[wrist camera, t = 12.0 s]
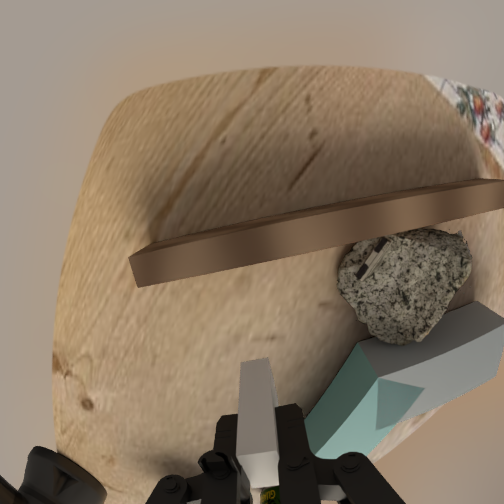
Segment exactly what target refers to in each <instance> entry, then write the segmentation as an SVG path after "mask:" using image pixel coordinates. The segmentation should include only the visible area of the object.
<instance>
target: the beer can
mask: <svg viewBox="0 0 504 504" xmlns="http://www.w3.org/2000/svg"><path fill="white" fill-rule="evenodd" d="M260 504H281V502H280V490H279V485H277V486H269V487H265V488H264V489H263V491H262V492H261V494H260Z"/></svg>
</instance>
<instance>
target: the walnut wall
mask: <svg viewBox="0 0 504 504" xmlns="http://www.w3.org/2000/svg"><path fill="white" fill-rule="evenodd" d="M501 208H504V180H499V179H481V178H480V179H473V180H466V181H460V182H453V183H447V184H440V185H434V186H428V187H422V188H416V189H410V190H404V191H398V192H393V193H387V194H381V195H376V196H370V197H365V198H360V199H354V200H349V201H344V202H339V203H333V204H328V205H323V206H318V207H313V208H308V209H303V210H298V211H294V212H289V213H284V214H279V215H274V216H270V217H265V218H260V219H256V220H251V221H247V222H242V223H238V224H233V225H229V226H224V227H220V228H215V229H211V230H207V231H202V232H198V233H194V234H190V235H185V236H181V237H177V238H173V239H169V240H165V241H161V242H157V243H153V244H150V245H148V246H146V247H144V248H143V249H141V250H139V251H138V252H136V253H134V254H133V255H131V256H129V257H128V258H129V262H130V265H131V268H132V271H133V275H134V278H135V281H136V284H137V287H138V288H139V287H144V286H150V285H155V284H160V283H165V282H170V281H175V280H180V279H185V278H189V277H194V276H199V275H204V274H209V273H214V272H219V271H224V270H229V269H233V268H238V267H243V266H248V265H253V264H257V263H262V262H267V261H271V260H276V259H281V258H286V257H290V256H295V255H300V254H304V253H309V252H313V251H318V250H323V249H327V248H332V247H336V246H341V245H345V244H350V243H354V242H359V241H363V240H368V239H372V238H377V237H381V236H386V235H390V234H395V233H399V232H403V231H408V230H412V229H416V228H421V227H425V226H429V225H434V224H438V223H442V222H447V221H451V220H455V219H459V218H464V217H468V216H472V215H476V214H480V213H484V212H489V211H493V210H497V209H501Z"/></svg>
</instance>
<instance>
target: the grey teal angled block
mask: <svg viewBox="0 0 504 504" xmlns="http://www.w3.org/2000/svg"><path fill="white" fill-rule="evenodd" d="M376 341H377V343H376ZM503 347H504V318H503V317H501V316H500V315H498V314H497V313H495V312H494V311H492V310H490V309H489V308H487V307H486V306H484V305H483V304H481V303H480V302H478V301H475V302H473V303H471V304H468V305H466V306H463V307H461V308H458V309H456V310H453V311H451V312H448V313H446V314H443V315H442V318H441V319H440V320H439V321H438V323H437V324H435V326H434V327H433V328H432V329H431V331H430V332H429V335H426V336H425V337H424V338H423V340H422V341H421V342H416V341H415V340H413V341H412V342H411V343H409V344H406V345H404V346H400V345H397V344H390V343H386V342H384V341H381V340H379V339H378V337H374V338H371V339H367V340H364V341H360V342H357V344H356V346H355V347H354V349H353V351H352V352H351V354H350V355H349V357H348V358H347V360H346V362H345V363H344V365H343V366H342V368H341V369H340V371H339V372H338V374H337V375H336V377H335V378H334V380H333V381H332V383H331V384H330V386H329V387H328V389H327V390H326V391H325V393H324V394H323V396H322V397H321V398H320V400H319V401H318V403H317V404H316V405H315V407H314V408H313V409H312V411H311V412H310V413H309V415H308V416H307V417H306V419H305V420H304V423H305V427H306V432H307V437H308V442H309V447H310V450H311V452H312V453H313V454H314V455H315V456H317V457H320V458H323V459H337V458H338V457H339V456H341V455H342V454H344V453H347V452H360V453H363V454H364V455H365V456H367V455H368V454H369V453H370V452H371V451H372V450H373V449H374V448H375V447H376V446H377V445H378V444H379V443H380V442H381V441H382V439H383V438H384V437H385V436H386V435H387V434H388V433H389V432H390V431H391V430H392V428H393V427H394V426H395V425H396V424H397V423H399V422H402V421H405V420H407V419H410V418H413V417H415V416H418V415H420V414H422V413H425V412H427V411H429V410H432V409H434V408H436V407H438V406H441V405H443V404H445V403H447V402H449V401H451V400H453V399H455V398H457V397H459V396H461V395H463V394H465V393H467V392H469V391H471V390H473V389H475V388H476V387H478V386H480V385H482V384H483V383H485V382H487V381H489V380H490V379H492V378H493V377H495V376H496V374H497V370H498V367H499V363H500V359H501V355H502V351H503Z"/></svg>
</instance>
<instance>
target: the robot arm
mask: <svg viewBox="0 0 504 504" xmlns="http://www.w3.org/2000/svg"><path fill="white" fill-rule="evenodd" d="M198 464H199V465H200V467H201V468H202V470H203V471H204V473H202V474H200V475H198V476H195V477H191V478H187V479H184V478H183V477H181V476H179V475H168V476H165V477H164V478H162V479H161V480H160V481H159V482H158V483H157V485H156V487H155V488H154V490H153V492H152V493H151V495H150V497H149V498H148V500H147V502H146V503H145V504H253V498H252V495H251V493H250V485H251V487H252V488H261V487H269V486H277V485H279V490H280V502H281V504H321V501H320V500H332V501H333V500H334V501H337V502H338V504H406V503H405V502H404V501H403V500H402V499H401V498H400V497H399V495H398V494H397V493H396V492H395V490H394V489H393V488H392V487H391V486H390V484H389V483H388V482H387V481H386V480H385V479H384V477H383V476H382V475H381V474H380V473H379V471H378V470H377V469H376V468H375V466H374V465H373V464H372V463H371V461H370V460H369V459H368V458H367V457H366V456H365V455H364V454H363V453H360V452H347V453H344V454H342V455H341V456H339V457H338V458H337V459H323V458H320V457H317V456H315V455H314V454H313V453H312V452H311V450H310V447H309V442H308V437H307V432H306V427H305V423H304V418H303V413H302V409H301V408H300V407H299V406H298V405H297V404H296V403H294V404H289V405H284V406H278V397H277V391H276V387H275V383H274V379H273V375H272V371H271V367H270V363H269V359H268V357H267V358H262V359H257V360H251V361H246V362H241V370H240V388H239V406H238V414H231V415H223V416H221V418H220V419H219V421H218V422H217V425H216V433H215V440H214V448H213V450H211V451H208V452H206V453H204V454H203V455H202V456H201V457H200V458H199V461H198ZM106 497H107V492H106V490H105V489H104V488H103V486H102V485H101V484H100V483H99V482H98V481H97V480H96V479H95V478H93V477H92V476H91V475H90V474H89V473H87V472H86V471H85V470H83V469H82V468H80V467H79V466H78V465H76V464H75V463H73V462H72V461H70V460H68V459H67V458H65V457H63V456H62V455H60V454H58V453H56V452H54V451H52V450H50V449H47V448H44V447H41V446H35V447H34V448H33V449H32V450H31V452H30V453H29V455H28V461H27V465H26V469H25V474H24V480H23V483H22V485H21V487H20V488H19V490H18V491H17V490H16V489H15V488H14V487H13V486H12V485H11V484H9V483H8V482H7V481H6V480H5V479H4V478H3V477H2V476H1V475H0V504H104V502H105V499H106Z"/></svg>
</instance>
